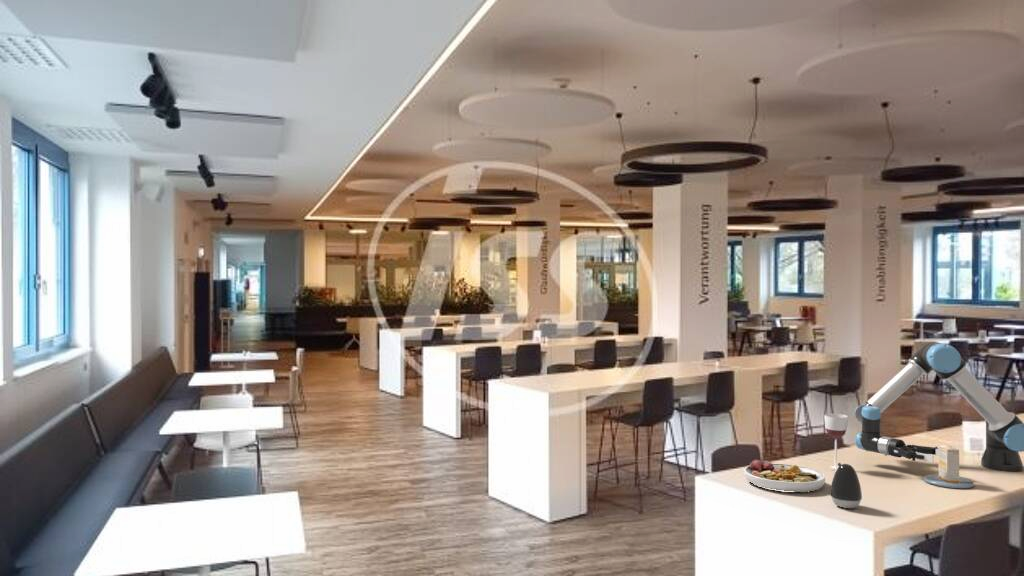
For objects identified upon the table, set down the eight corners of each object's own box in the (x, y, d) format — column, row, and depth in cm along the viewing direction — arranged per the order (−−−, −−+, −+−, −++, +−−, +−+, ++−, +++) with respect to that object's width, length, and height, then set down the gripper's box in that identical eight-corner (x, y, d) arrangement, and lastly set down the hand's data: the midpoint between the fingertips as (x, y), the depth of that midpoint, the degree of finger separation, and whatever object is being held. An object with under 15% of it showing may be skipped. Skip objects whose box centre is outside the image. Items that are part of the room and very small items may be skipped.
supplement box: (960, 482, 284) (960, 449, 284) (946, 482, 285) (946, 449, 285) (950, 477, 293) (950, 445, 293) (937, 477, 293) (938, 444, 293)
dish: (939, 476, 300) (939, 472, 300) (982, 485, 286) (982, 482, 286) (914, 481, 292) (915, 477, 292) (958, 491, 277) (958, 487, 277)
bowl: (838, 485, 286) (838, 465, 286) (803, 500, 265) (803, 479, 265) (766, 471, 308) (766, 453, 308) (729, 484, 287) (729, 464, 287)
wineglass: (826, 471, 308) (826, 417, 308) (822, 465, 317) (822, 413, 318) (849, 472, 306) (850, 418, 306) (844, 466, 315) (845, 414, 315)
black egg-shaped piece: (852, 502, 262) (852, 460, 262) (867, 511, 252) (867, 467, 252) (824, 502, 262) (825, 460, 262) (838, 511, 252) (838, 467, 252)
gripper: (909, 452, 315) (959, 462, 297) (874, 459, 303) (924, 470, 284) (909, 435, 315) (960, 444, 297) (874, 441, 303) (924, 451, 284)
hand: (942, 457), depth 290 cm, fingers open, 13 cm apart
